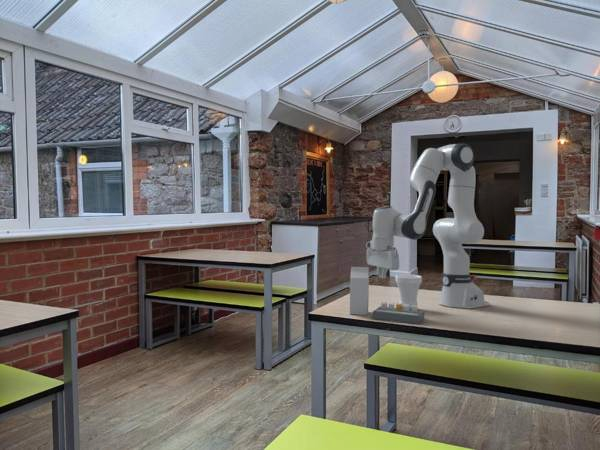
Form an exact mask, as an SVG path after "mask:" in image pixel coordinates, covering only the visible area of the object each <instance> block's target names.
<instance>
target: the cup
mask: <svg viewBox="0 0 600 450" xmlns="http://www.w3.org/2000/svg"><path fill="white" fill-rule="evenodd" d="M395 282H396V285H397V288H398V293H399V302H398V304H402V309H404V304H407V305H410V310H411V306H412V305H417V306H418V292H419V289H420V286H421V284H422V283H423V276H422V275H418V274H408V273H407V274H406V273H405V274H404V273H401V274H396V275H395Z"/></svg>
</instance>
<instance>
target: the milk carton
mask: <svg viewBox="0 0 600 450" xmlns="http://www.w3.org/2000/svg"><path fill="white" fill-rule="evenodd" d="M369 268H370V267H367V266H366V267H365V266H364V267H362V266H351V268H350V277H349V278H350V281H349V315H362V316H363V315H364V316H367V315H368V313H369V296H370V295H369V294H370V291H369V289H370V287H369V286H370V272H369V271H370V270H369Z"/></svg>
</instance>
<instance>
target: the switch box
mask: <svg viewBox="0 0 600 450" xmlns="http://www.w3.org/2000/svg"><path fill="white" fill-rule="evenodd" d="M380 305H381V306H379V307H377V308H376V309H374V310H373V311H372V320H380V321H387V322H388V321H389V322H390V321H391V322H394V323H395V322H398V323H406V324H413V325H420V324H421V323H422V322H424V320H425V318H426V317H425V314H426V312H425V310H418V304H417V305H412V306H411V310H410V305H407V304H404V309H402V311H398V310H396V306H395V303H394V302H389V303H388V302H386V301H384V302H383V301H382V302H381V303H380Z"/></svg>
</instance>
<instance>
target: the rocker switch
mask: <svg viewBox="0 0 600 450" xmlns="http://www.w3.org/2000/svg"><path fill="white" fill-rule="evenodd" d="M395 308H396V310H398V311H402V304H399V303H396V304H395Z"/></svg>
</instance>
